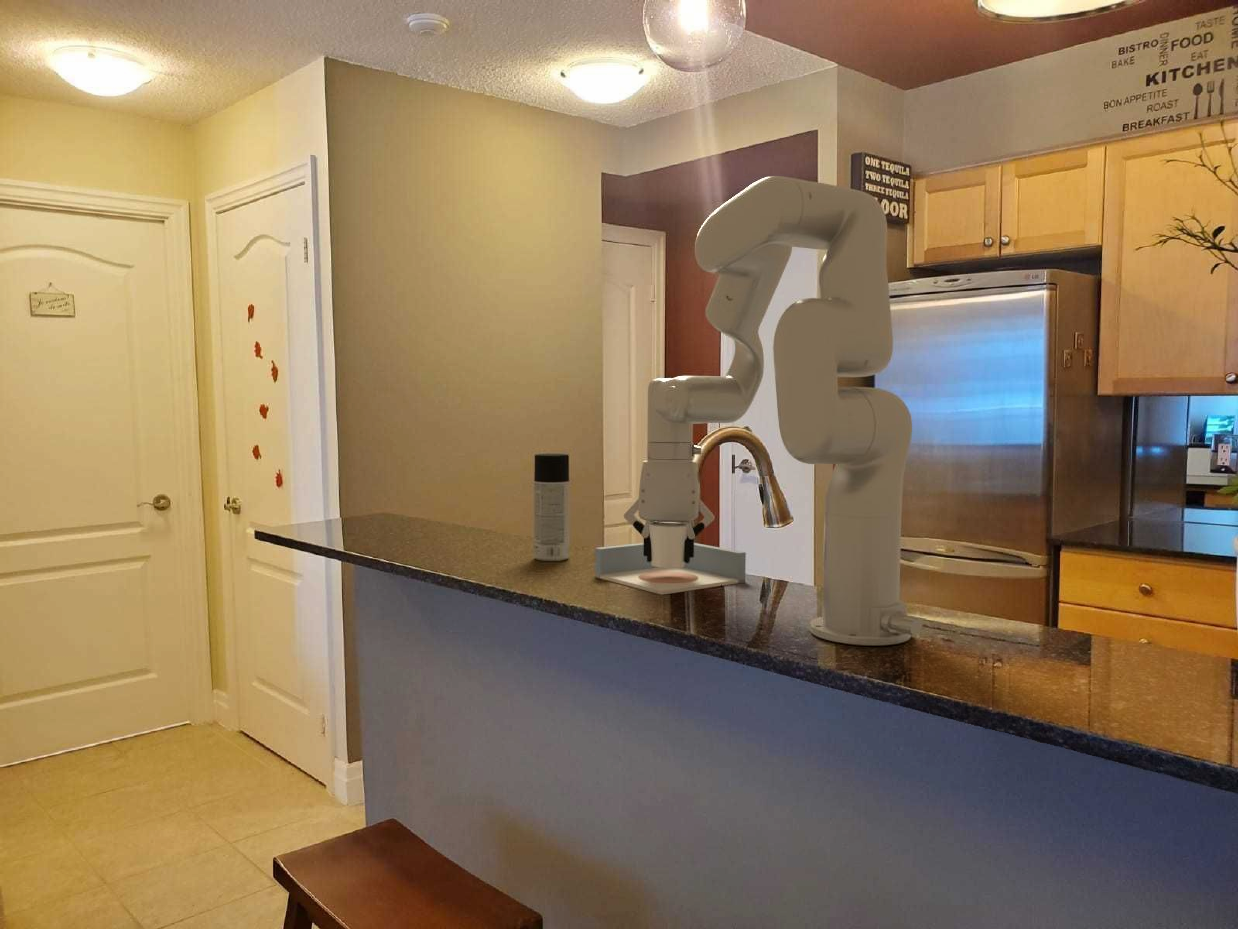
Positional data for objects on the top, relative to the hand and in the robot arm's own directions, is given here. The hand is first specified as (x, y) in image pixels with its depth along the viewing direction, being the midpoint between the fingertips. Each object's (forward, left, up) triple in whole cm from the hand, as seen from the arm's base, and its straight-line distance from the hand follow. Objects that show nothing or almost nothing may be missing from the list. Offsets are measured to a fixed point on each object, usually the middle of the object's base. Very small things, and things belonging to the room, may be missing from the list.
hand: (668, 560), depth 153 cm
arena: (+1, -1, -4) cm, 4 cm away
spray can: (+30, +4, -4) cm, 30 cm away
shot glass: (0, 0, -1) cm, 1 cm away
